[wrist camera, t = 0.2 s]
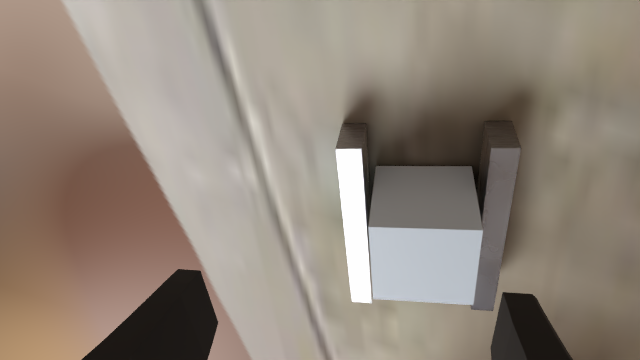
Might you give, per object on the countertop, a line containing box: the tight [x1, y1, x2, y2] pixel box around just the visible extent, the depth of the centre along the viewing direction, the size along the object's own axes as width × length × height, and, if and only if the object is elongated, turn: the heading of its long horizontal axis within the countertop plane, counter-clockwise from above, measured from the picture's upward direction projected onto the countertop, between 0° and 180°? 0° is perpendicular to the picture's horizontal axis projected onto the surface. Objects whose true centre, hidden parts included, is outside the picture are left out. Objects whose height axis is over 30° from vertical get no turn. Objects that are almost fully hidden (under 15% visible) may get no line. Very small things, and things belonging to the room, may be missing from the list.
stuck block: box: [368, 166, 483, 305], centre depth 19 cm, size 4×4×4 cm
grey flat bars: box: [336, 121, 521, 311], centre depth 20 cm, size 9×7×2 cm
